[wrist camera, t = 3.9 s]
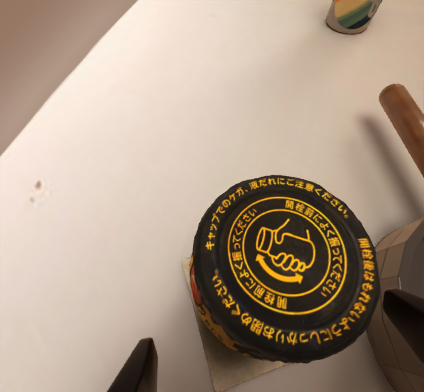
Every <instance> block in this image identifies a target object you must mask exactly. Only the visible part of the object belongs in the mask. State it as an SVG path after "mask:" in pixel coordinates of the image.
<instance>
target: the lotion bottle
mask: <svg viewBox="0 0 424 392" xmlns="http://www.w3.org/2000/svg"><path fill="white" fill-rule="evenodd" d="M381 2H382V0H333V1H332V4H331V7H330V10H329V13H328V16H327V23H328V25H329V26H330V27H331V28H332V29H334V30H336V31H338V32H342V33H348V34H354V33H359V32H362V31H364V30H365V29H366V28H367V27H368V25H369V24H370V22H371V20H372V18H373V16H374V15H375V13H376V11H377V9H378V7H379V5H380V3H381Z"/></svg>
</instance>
